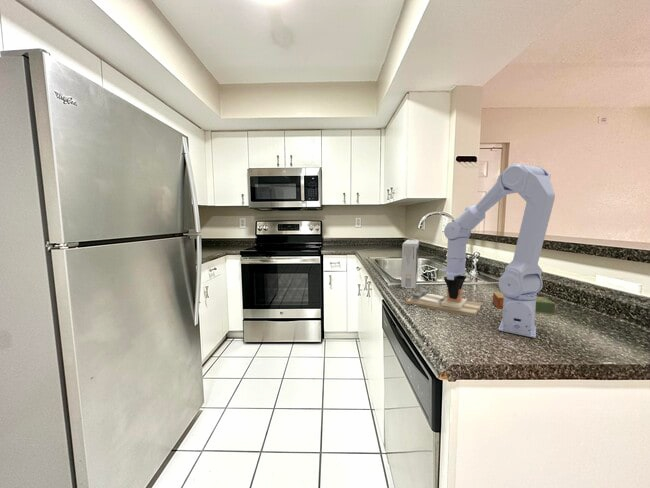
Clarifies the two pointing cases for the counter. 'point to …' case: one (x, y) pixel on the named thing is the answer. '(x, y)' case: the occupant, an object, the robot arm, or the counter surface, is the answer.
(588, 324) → the counter surface
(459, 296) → the tan block on base
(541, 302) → the carton
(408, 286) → the packaging
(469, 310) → the board
